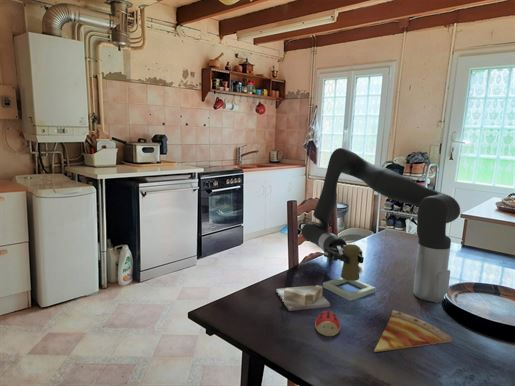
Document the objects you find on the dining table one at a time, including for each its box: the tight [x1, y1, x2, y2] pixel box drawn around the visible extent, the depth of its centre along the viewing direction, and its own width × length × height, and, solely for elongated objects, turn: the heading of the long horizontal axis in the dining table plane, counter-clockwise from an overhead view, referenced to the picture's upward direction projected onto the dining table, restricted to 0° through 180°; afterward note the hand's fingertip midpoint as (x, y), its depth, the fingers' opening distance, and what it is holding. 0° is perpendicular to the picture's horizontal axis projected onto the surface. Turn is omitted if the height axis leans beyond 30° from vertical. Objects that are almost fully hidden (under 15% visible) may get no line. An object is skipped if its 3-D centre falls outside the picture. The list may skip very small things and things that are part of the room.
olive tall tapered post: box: [340, 243, 361, 281], centre depth 119 cm, size 6×6×11 cm
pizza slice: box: [373, 309, 453, 353], centre depth 97 cm, size 16×22×2 cm
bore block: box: [322, 276, 376, 302], centre depth 121 cm, size 12×12×2 cm
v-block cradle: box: [275, 284, 331, 312], centre depth 113 cm, size 13×13×4 cm
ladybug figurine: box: [314, 310, 341, 337], centre depth 97 cm, size 7×10×4 cm
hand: (355, 260), depth 116 cm, fingers closed on olive tall tapered post, 4 cm apart
